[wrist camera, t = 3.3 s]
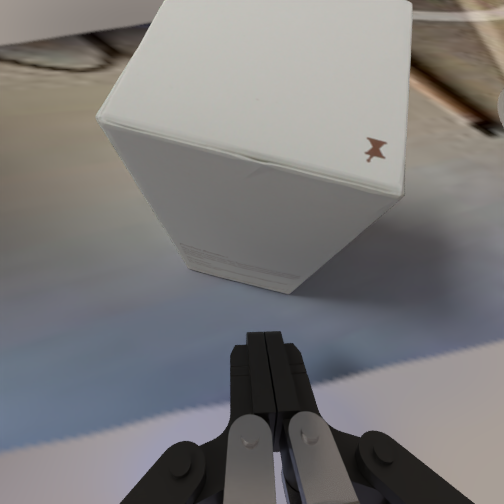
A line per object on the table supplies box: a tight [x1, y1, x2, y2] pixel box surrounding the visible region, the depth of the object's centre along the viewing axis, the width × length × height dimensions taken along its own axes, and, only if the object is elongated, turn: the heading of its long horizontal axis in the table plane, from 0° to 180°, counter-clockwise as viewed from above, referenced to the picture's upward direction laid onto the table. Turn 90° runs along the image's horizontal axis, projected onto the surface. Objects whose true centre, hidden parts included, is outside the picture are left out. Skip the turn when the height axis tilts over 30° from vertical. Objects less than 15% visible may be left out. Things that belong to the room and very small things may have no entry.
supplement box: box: [96, 0, 413, 294], centre depth 13 cm, size 7×7×13 cm
